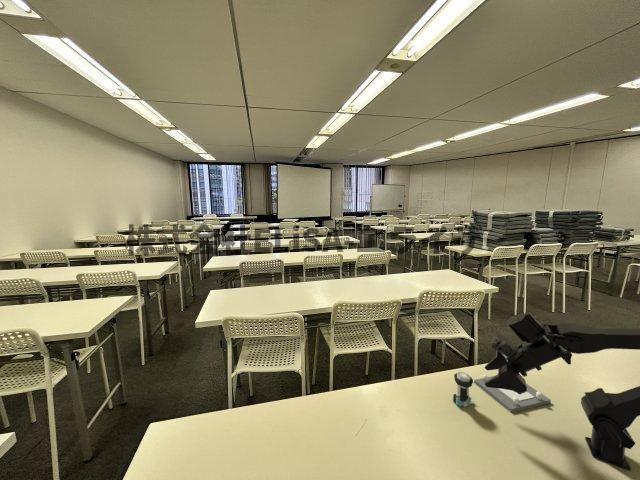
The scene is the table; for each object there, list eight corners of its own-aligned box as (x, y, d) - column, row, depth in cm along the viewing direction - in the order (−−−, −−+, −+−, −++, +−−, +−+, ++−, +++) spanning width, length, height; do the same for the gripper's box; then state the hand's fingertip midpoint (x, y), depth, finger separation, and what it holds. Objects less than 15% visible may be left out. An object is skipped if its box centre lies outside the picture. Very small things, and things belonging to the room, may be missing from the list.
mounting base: (550, 403, 82) (551, 394, 82) (510, 412, 78) (511, 403, 78) (509, 375, 96) (510, 367, 95) (474, 382, 92) (474, 374, 92)
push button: (468, 396, 85) (469, 369, 84) (479, 408, 80) (481, 379, 79) (449, 398, 85) (450, 370, 84) (459, 410, 80) (461, 381, 78)
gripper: (509, 318, 81) (467, 341, 88) (514, 344, 65) (463, 369, 73) (538, 348, 78) (492, 369, 85) (552, 383, 62) (494, 405, 70)
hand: (485, 376), depth 78 cm, fingers open, 9 cm apart
